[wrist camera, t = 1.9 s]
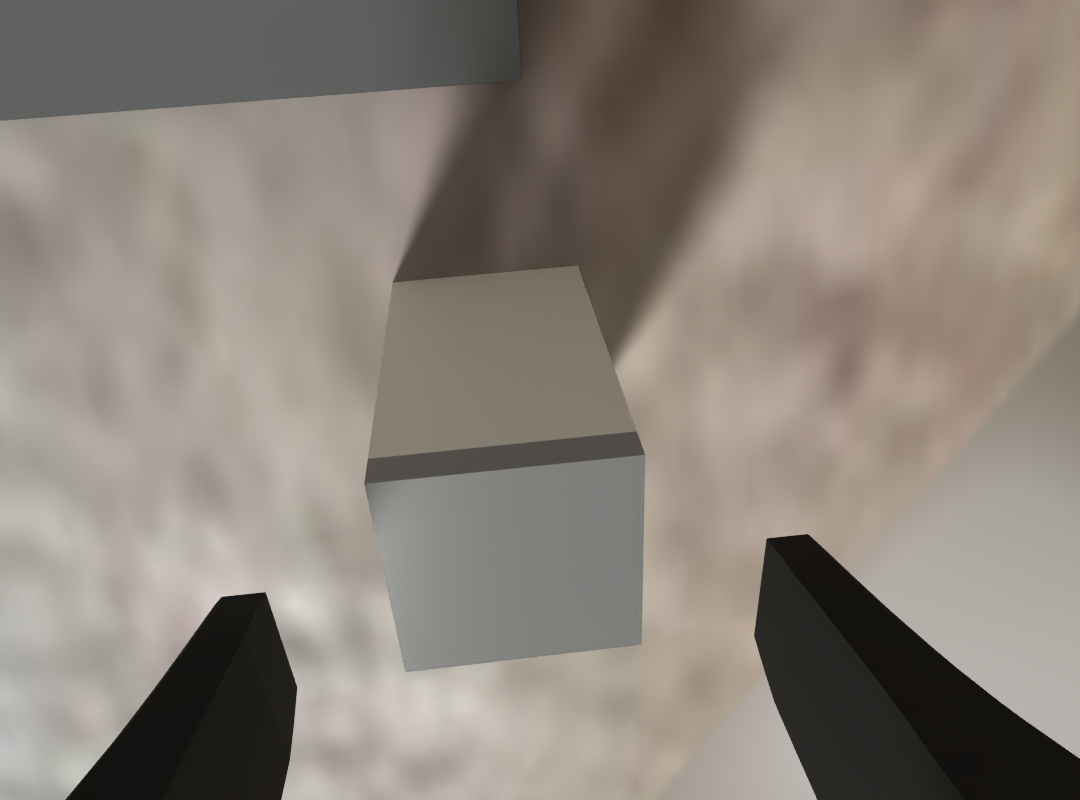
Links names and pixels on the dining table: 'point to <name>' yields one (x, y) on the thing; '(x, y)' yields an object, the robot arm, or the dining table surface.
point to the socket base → (242, 50)
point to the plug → (504, 473)
